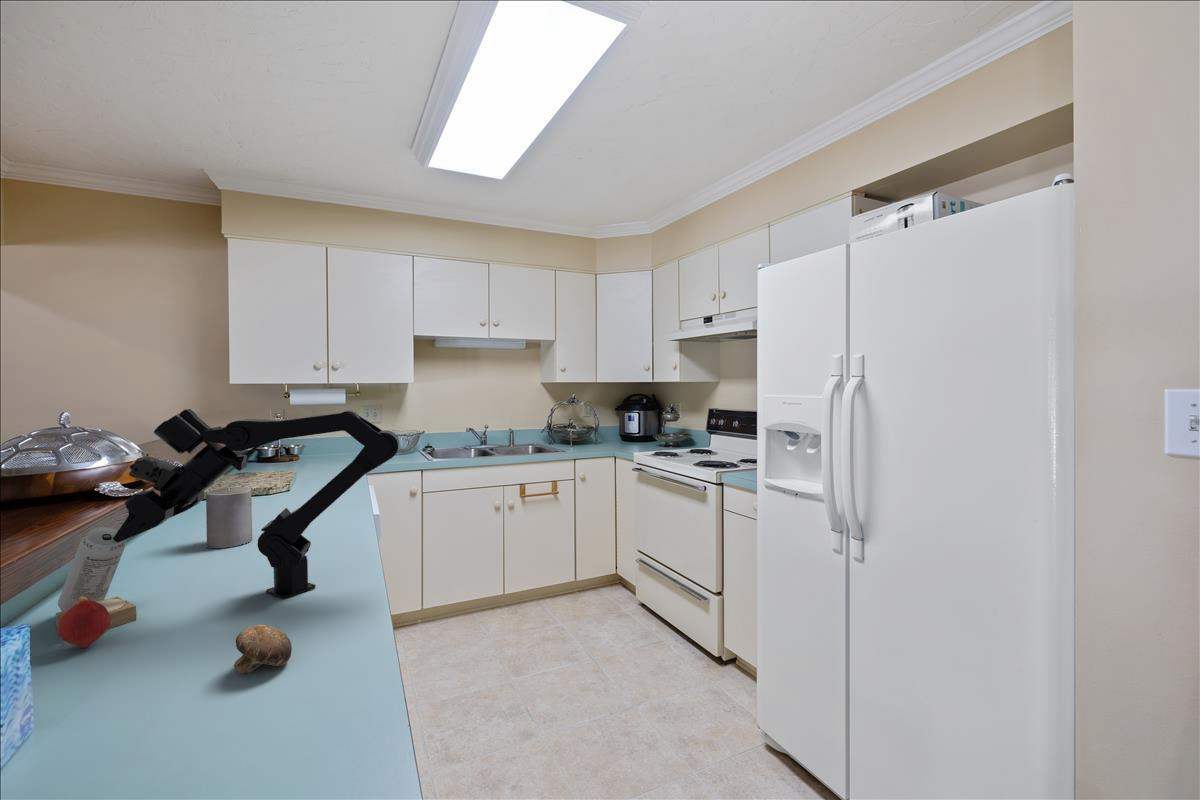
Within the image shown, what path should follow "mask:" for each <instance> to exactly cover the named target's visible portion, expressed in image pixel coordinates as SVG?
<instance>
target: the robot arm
mask: <svg viewBox="0 0 1200 800" xmlns="http://www.w3.org/2000/svg"><path fill="white" fill-rule="evenodd" d="M341 431H342V432H345V433H347V434H348V435H350V436H351V437H352V438H353V439H354V440H356V441H357V442H358V443H360V444H361V445H362V446H363V447H362V449H361V450H360V451H359V453H357V455H356V457H355V458H354V459H353V460H352V461H351V462H350V463H349V464H347V466H345V467H344V468H343V469H342V470H341V471H339V473H337V475H335V476H334V477H333V478H332V479H330V481H328V482H327V483H326V484H325V485H324V486H323V487H321V488H320V489H319V490H318V491H316V493H315V494H314V495H313V496H311V497H310V498H309V499H308V500H306V501H305V503H303V504H302V505H301V506H300V507H298V508H296V509H295V510H293V511H291V512H290V510H289V509H288V508H287V507H286V508H284V509H283V510H282V511H280V513H279V514H278V515H277V516H276V517H275V518H274V519H272V520H270V521H269V522H268V523H267V524H266V525H264V526H263V528H261V530H260V531H261V532H262V533H261V534H260V536H258V539H257V548H258V551H259V552H260V553H261V554H262V555H263V556H265V557H266V559H267V561H268V563H269V565H270V567H271V568H273V586H272V587H270V588H267V589H266V590H265V592H266V593H267V594H269V595H273V596H275V597H278V598H281V599H286V598H289V597H292V596H295V595H299V594H301V593H304V592H307V591H310V590H312V589H315V588H316V584H314V583H311V582H309V573H308V571H309V569H308V567H309V563H308V556H307V555H306V554H307V553H308V552H309V550H310V547H311V545H312V542H311V541H310V540H309V539H308V538H306V537H305V536H304V535H303V533H304V532H305V531H306V530H307V529H308V527H309V526H310V525H311V523H313V521H315V519H317V518H318V517H319V516H320V515H321V514H322V513H324V512H325V510H326V509H328V508H329V507H330V506H331V505H333V503H335V502H336V501H337V500H338V499H339V498H340V497H341V496H343V494H345V493H346V492H347V491H348V490H349V489H350V488H351V487H353V486H354V484H356V483H357V482H359V480H360V479H362V478H363V477H364V476H365V475H366V474H368V473H370V472H371V471H374V470H375V469H377V468H378V467H380V466H381V465H383V464H386V462H388V461H390V460H391V459H392V458H394V457H395V456H396V454H397V452H398V450H399V448H400V439H399V436H398V435H397V434H396V433H395V432H393V431H391V430H389V429H388V430H382V429H381V428H380V427H378V426H377V425H375V424H373V423H372V422H370V421H369V420H367V419H365V418H363V417H362V416H360V414H358V413H357V411H354V410H345V411H342V412H335V413H328V414H320V415H313V416H305V417H297V418H291V419H290V418H288V419H265V418H264V419H262V418H260V419H259V418H258V419H257V418H244V419H240V420H235V421H230V422H229V423H227V424H226V425H225V426H223V427H222V426H216V427H211V426H209V425H208V424H207V423H206V422H205V421H203V420H202V418H200V417H199V416H198V415H197V413H196V412H195V411H194V410H193V409H191V408H185V409H183V410H182V411H181V412H179V413H177V414H175V415H174V416H172V417H170V418H169V419H168V420H167V419H166V420H164V421H163V422H162V423H160V424H159V425H157V427H156V428H155V429H154V431H153V434H154V435H155V436H157V438H159V440H161V441H162V442H163V443H165V444H166V445H168V446H169V447H170V448H171V449H173V450H174V451H175V452H176V453H177V454H178V455H182V454H184V453H188V455H192V454H194V453H195V452H197V451H199V452H197V453H196V454H195V455H194V456H192V457H191V458H190V459H188V461H186V462H185V463H184V464H182V465H177V466H176V465H174V464H173V463H170V462H167V461H164V460H162V459H159V458H155V457H153V456H149V455H146V456H142V457H137V458H136V460H135V461H134V463H132V464H130V465H129V469H130V471H129V473H128V475H129V477H132V478H138V479H141V480H144V481H147V482H150V483H153V485H152V486H151V487H152V488H153V489H155V491H158V492H159V493H156V492H155V491H154V490H142V491H140V492H136V493H134V494H132V495H131V497H129V498H128V499H127V500H126V501H124V505H125V509H126V510H127V512H128V514H127V516H126V519H125V520H124V521H123V523H122V525H121V526H120V527H119V528H118V529H119V530H118V532H117V533H116V534H115V536H114V537H113V540H114V541H116V542H117V543H118V542H121V541H123V540H125V541H126V540H128V539H130V538H132V537H135V536H138V535H140V534H142V533H144V532H147V531H149V530H152V529H155V528H156V527H159V526H161V525H162V524H164V522H166V521H167V520H168V519H170V518H172V517H175V516H177V515H179V514H182V513H184V512H186V511H188V510H190V509H192V508H193V507H195V506H197V505H198V504H199V503H200V502H201V501H203V500H204V499H205V490H207V489H209V488H211V487H212V486H213V485H214V484H215V482H216V480H218V479H219V478H220V477H221V476H223V475H224V473H226V472H227V471H228V470H229V469H230V468H231V467H233V468H234V469H235V470H237V471H242V470H244V469H247V467H248V465H247V458H248V455H247V454H243V455H241V454H238V453H237V452H244V451H247V450H250V449H255V448H257V447H260V446H263V445H267V444H270V443H273V442H276V441H279V440H286V439H292V438H293V439H294V438H299V437H300V438H301V437H306V436H313V435H315V436H316V435H322V434H327V433H328V434H329V433H337V432H341ZM223 445H224V446H223ZM200 449H201V450H200Z"/></svg>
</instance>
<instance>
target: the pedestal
mask: <svg viewBox="0 0 1200 800" xmlns="http://www.w3.org/2000/svg"><path fill="white" fill-rule="evenodd" d="M96 602H97V603H100V604H101V605H103V606H104V607H105V608H106V609H107V611H108V612H109V614H110V618H111V620H110V625H109V627H108V629H107V630H110V629H111V628H116V627H118V626H121V625H125V624H128V623H131V622H135V621H137V605H135V604H133V603H132V602H129V601H127V600H125V599H123V598H120V597H119V596H115V597H111V598H107V599H105V600H101V601H96ZM67 611H68V610H66V611H58V612H56V613H55V623H56V624H55V627H56V629H57V630H58V625H59V622H60V620H61V618H62V617H63V616H64V614H65V613H66V612H67Z"/></svg>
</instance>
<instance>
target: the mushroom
mask: <svg viewBox="0 0 1200 800" xmlns="http://www.w3.org/2000/svg"><path fill="white" fill-rule="evenodd" d="M235 637H236V638H235V646H236V649H237V650H238V652H239V653H240V654H241V655H242V656H240V657H239V658H238V659H236V660H235V662H234V664H233V668H234V670H235V671H236V672H237V673H239V674H243V675H246V674H249V673H252V672H254V671H255V669H257V668H258V667H260V666H261V665H263V664H265V665H268V666H269V665H270V666H277V667H278V666H283V665H286V664H287V663H288V661H290V658H291V655H292V643H291V639H290V638H289V637H288V636H287V634H286V633H285V632H283V630H280V629H279V628H276V627H274V626H270V625H269V624H268V625H267V624H254V625H250V626H249V627H246V628H245V629H243V630H242V631H241V632H240V633H239V634H238V635H237V636H235Z"/></svg>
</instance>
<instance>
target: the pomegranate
mask: <svg viewBox="0 0 1200 800" xmlns="http://www.w3.org/2000/svg"><path fill="white" fill-rule="evenodd" d="M77 600H78V603H77V604H76V605H74V606H73V607H72V608H70V609H69V610H68V611H67V612H66V613H65V614H64V616H63V617H62V618H61V620H60V622H59V625H58V629H57V633H58V636H59V638H60V639H61V640H62V641H63V642H65V643H67V644H70V645H72V646H75V647H77V648H79V649H85V648H88V647H89V646H90V645H92V644H94V643H95V642H96V641H97V640H99V639H100V638H101V637H102V636H103V635H104V634H105V633H106V632H107V631H108V630H109V629H108V627H109V625H110V620H111V618H110V614H109V612H108V611H107V609H106V608H105V607H104V606H103V605H101V604H100V603H97V602H95V601H91V600H89V599H87V598H86V597H79V598H78V599H77Z"/></svg>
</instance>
